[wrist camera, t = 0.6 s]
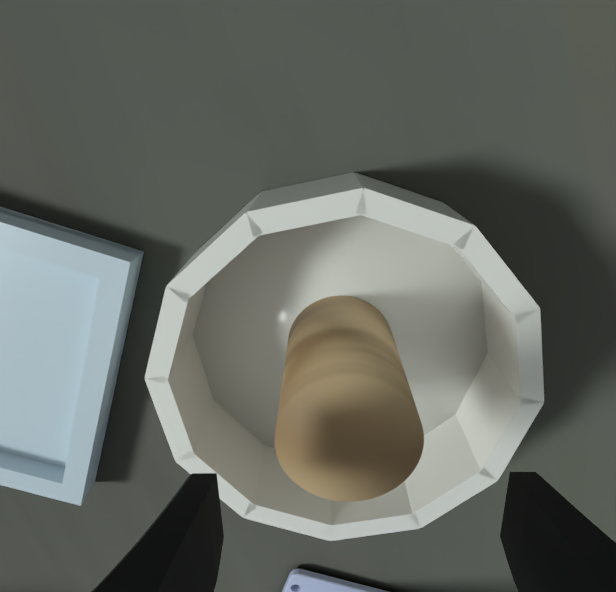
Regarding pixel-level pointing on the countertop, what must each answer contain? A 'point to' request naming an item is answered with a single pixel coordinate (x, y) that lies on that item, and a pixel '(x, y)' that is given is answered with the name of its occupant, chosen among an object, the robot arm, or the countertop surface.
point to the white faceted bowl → (404, 326)
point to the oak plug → (346, 404)
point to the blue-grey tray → (59, 351)
